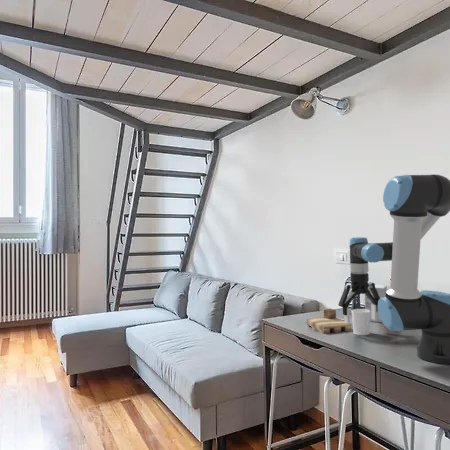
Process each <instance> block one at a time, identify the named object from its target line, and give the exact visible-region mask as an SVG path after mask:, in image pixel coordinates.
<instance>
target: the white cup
mask: <svg viewBox="0 0 450 450" xmlns="http://www.w3.org/2000/svg"><path fill="white" fill-rule="evenodd" d="M350 312H351V326H352V332H353V335H356V336H368V335H370V331H371V330H370V328H371V321H370V310H367V309H365V308H354V309H351V311H350Z"/></svg>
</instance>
